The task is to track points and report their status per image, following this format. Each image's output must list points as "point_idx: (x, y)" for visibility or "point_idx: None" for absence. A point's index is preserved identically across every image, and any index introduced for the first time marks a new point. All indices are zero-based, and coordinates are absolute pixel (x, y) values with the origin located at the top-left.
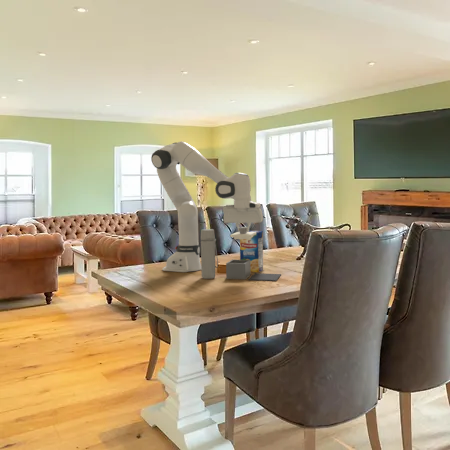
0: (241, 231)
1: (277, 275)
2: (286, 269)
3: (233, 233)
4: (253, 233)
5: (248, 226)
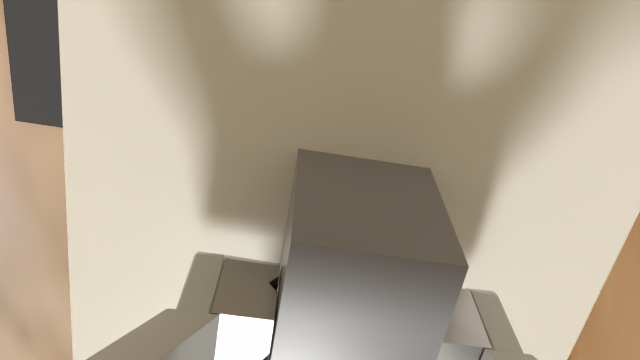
0: (394, 194)
1: (31, 54)
2: (38, 331)
3: (598, 293)
4: (68, 218)
5: (136, 345)
